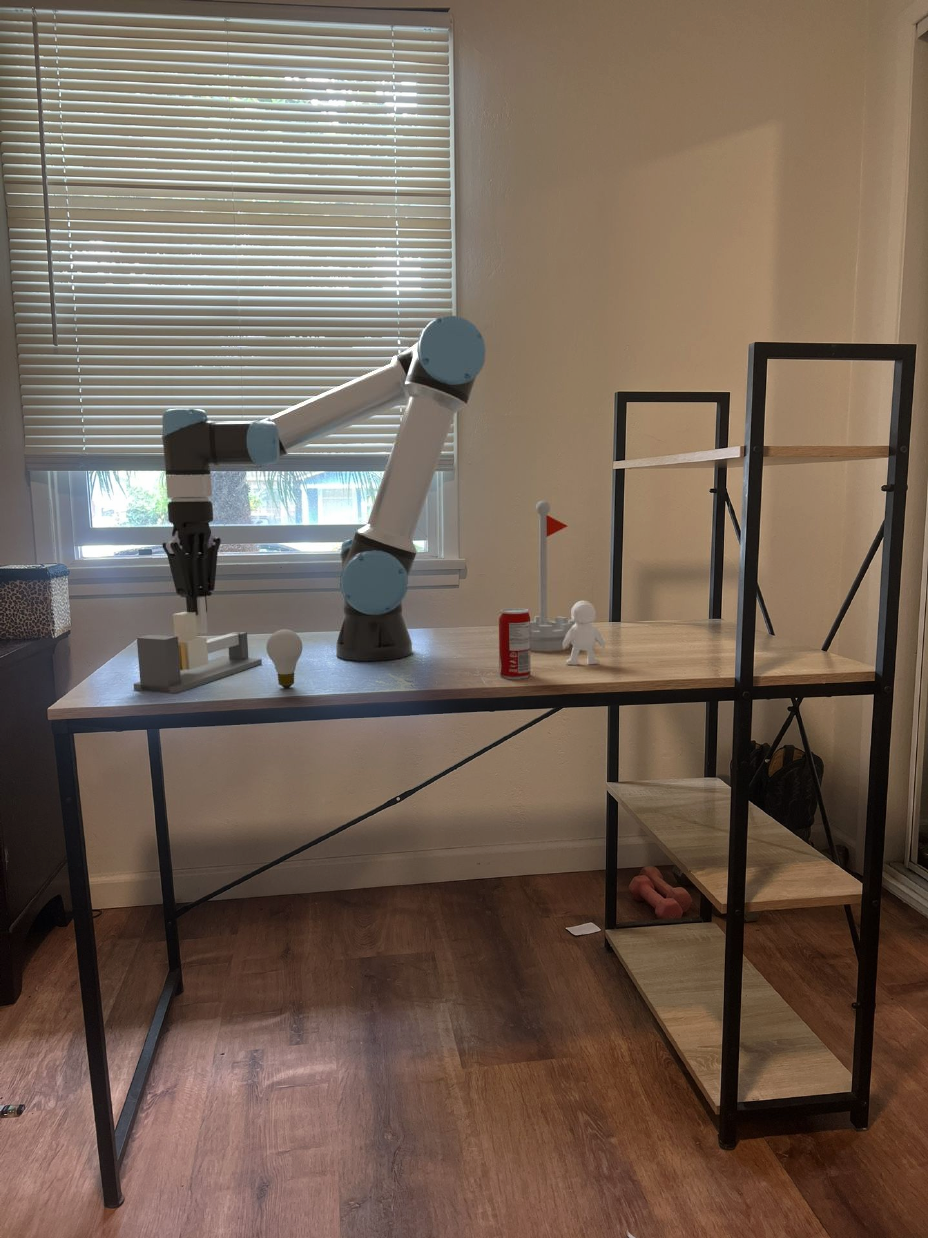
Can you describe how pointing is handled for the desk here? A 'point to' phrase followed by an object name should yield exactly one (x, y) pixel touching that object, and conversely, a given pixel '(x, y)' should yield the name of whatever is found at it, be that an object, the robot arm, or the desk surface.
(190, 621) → the sleeve
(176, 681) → the rail
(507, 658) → the soda can
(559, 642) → the flag stand
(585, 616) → the figurine
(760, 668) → the desk surface
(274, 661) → the light bulb
